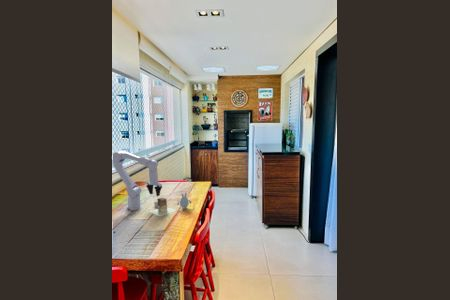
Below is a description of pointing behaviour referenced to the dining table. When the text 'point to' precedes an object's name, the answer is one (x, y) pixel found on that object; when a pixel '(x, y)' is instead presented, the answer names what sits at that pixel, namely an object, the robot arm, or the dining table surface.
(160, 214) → the station board
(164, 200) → the walnut block
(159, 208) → the maple block
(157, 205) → the grey block
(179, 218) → the dining table surface
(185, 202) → the toy figure
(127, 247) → the dining table surface
